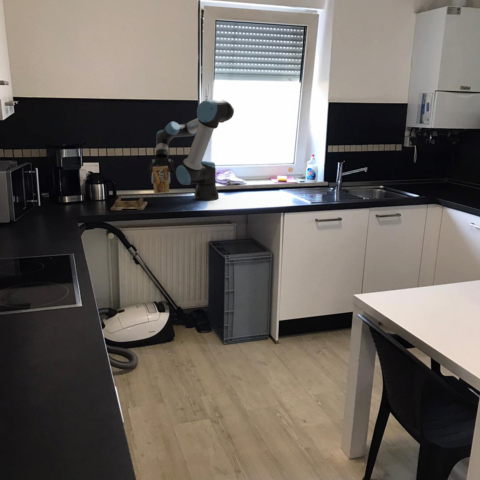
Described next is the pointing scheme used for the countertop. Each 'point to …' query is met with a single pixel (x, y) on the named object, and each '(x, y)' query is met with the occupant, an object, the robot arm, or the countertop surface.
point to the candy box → (161, 179)
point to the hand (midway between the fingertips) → (160, 182)
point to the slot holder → (129, 204)
